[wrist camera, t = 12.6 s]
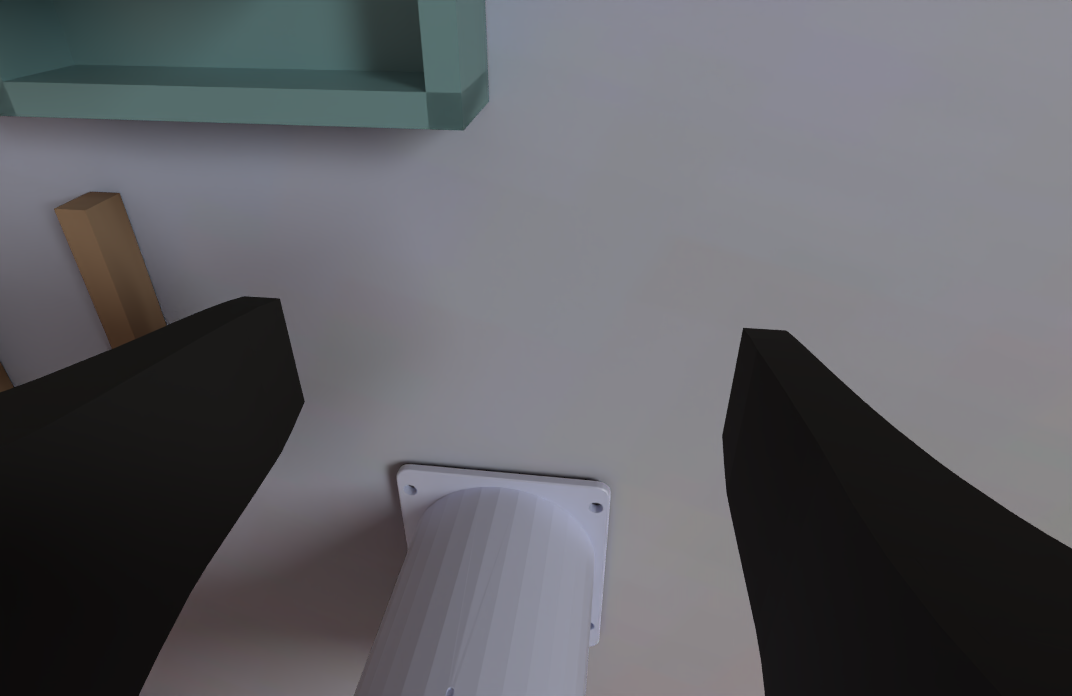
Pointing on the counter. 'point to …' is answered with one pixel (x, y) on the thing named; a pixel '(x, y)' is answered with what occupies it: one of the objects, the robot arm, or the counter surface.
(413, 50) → the tray
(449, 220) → the counter surface
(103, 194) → the bay
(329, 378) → the counter surface
